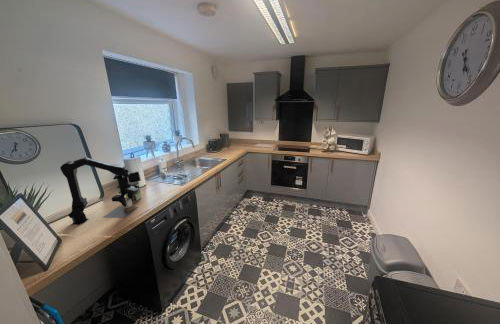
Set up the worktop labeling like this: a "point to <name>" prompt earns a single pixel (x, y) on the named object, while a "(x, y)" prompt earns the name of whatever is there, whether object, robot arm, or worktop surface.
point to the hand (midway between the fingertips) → (128, 204)
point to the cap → (128, 203)
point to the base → (129, 209)
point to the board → (118, 213)
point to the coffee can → (137, 195)
